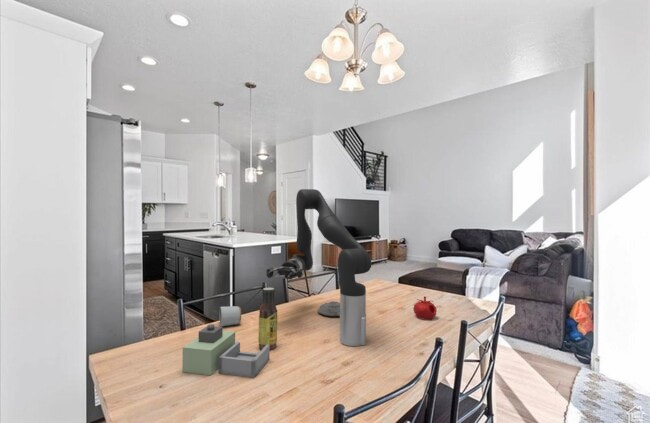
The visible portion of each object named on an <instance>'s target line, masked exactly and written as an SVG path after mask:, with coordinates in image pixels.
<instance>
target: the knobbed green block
mask: <svg viewBox="0 0 650 423" xmlns="http://www.w3.org/2000/svg"><path fill="white" fill-rule="evenodd" d="M223 327H224V326H222V327H220V326H215V324H213V323H211V324H208V325H207V326H205V327H204V328H202V329H201V330H199V331H198V337H197V338H195V339H194V340H192V341H190V342H189V343H187V344H186V345H184V346H183V347H182V373H188V374H196V375H205V376H211V375H213V374H214V373H215V372H217V370H218V374H220V375H230V376H238V377H247V378H256V377H257V376H258V374H259V373H260V372H261V370H262V369H263V368H264V367H265V366H266V364H267V363H268V362H269V361H270V352H271V349H270V345H266V346H265V347H264V348H263V349H261V350H260V351H259V352H250V351H249V352H248V351H241V342H240V341H237V342H236V331H233V330H232V331H230V330H223Z"/></svg>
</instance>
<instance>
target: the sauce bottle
mask: <svg viewBox="0 0 650 423" xmlns="http://www.w3.org/2000/svg"><path fill="white" fill-rule="evenodd" d="M275 291H276V290H275V287H264V288H262V294H263V296H262V298H263V299H262V303H261V305H260V307H259V309H258V310H259V311H258V312H259V315H258V339H257V342H258V348H259V349H261V350H262V349H263V348H264V347H265V346H266V345H270V350H273V349H275V348H276V347H277V342H278V308H277V307H276V306H277V305H276V303H275Z"/></svg>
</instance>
